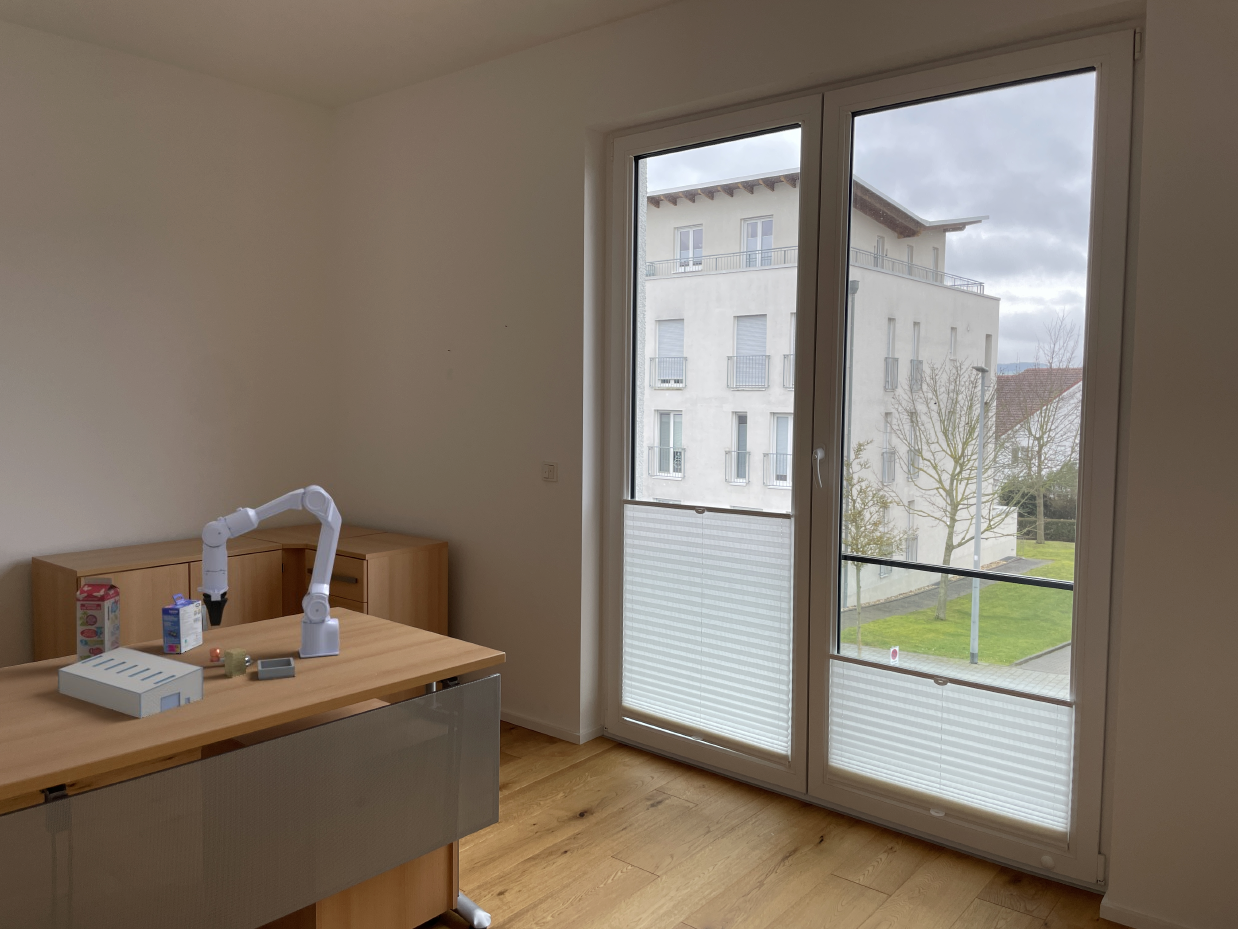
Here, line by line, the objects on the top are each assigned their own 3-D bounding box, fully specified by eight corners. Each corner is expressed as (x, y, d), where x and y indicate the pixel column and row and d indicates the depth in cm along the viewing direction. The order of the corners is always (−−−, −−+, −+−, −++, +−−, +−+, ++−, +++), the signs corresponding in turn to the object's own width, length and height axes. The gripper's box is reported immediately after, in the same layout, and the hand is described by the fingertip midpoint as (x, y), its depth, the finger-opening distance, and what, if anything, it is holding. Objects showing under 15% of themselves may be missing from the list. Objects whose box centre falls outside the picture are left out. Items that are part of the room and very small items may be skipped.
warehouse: (58, 694, 193) (57, 661, 193) (121, 677, 206) (121, 646, 205) (140, 720, 179) (140, 684, 178) (203, 701, 191) (203, 667, 191)
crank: (250, 658, 220) (250, 644, 219) (250, 662, 216) (250, 648, 216) (210, 661, 216) (209, 647, 216) (209, 666, 212) (209, 651, 212)
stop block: (238, 672, 211) (238, 647, 211) (246, 674, 209) (245, 650, 209) (224, 675, 208) (224, 650, 208) (232, 678, 206) (232, 653, 206)
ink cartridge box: (184, 643, 235) (183, 590, 234) (203, 644, 234) (203, 591, 233) (161, 653, 225) (160, 598, 224) (181, 654, 224) (181, 599, 223)
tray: (292, 667, 215) (292, 657, 215) (294, 676, 208) (294, 666, 208) (257, 670, 212) (257, 660, 212) (258, 680, 205) (258, 669, 205)
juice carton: (93, 661, 216) (91, 574, 215) (120, 662, 216) (119, 575, 215) (77, 669, 209) (76, 580, 208) (105, 670, 210) (104, 580, 208)
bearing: (252, 660, 220) (252, 658, 220) (253, 666, 216) (253, 664, 216) (230, 662, 218) (230, 660, 218) (230, 668, 214) (230, 666, 214)
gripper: (196, 565, 222) (197, 617, 223) (197, 575, 209) (197, 631, 210) (227, 564, 225) (227, 615, 226) (229, 574, 212) (229, 628, 213)
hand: (215, 623), depth 218 cm, fingers open, 5 cm apart
